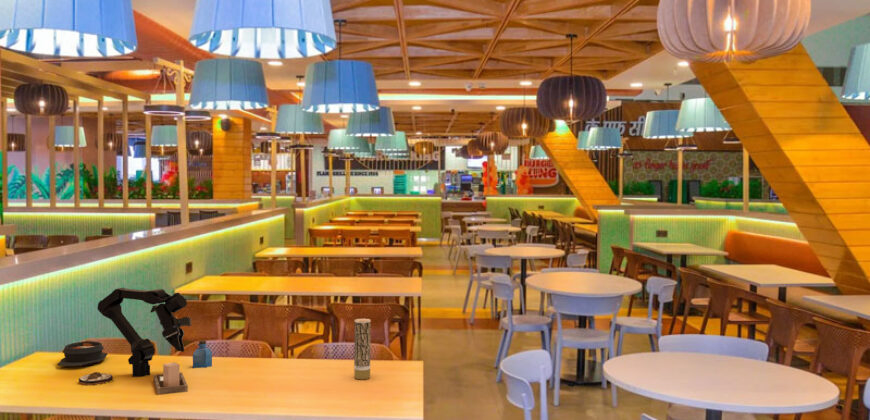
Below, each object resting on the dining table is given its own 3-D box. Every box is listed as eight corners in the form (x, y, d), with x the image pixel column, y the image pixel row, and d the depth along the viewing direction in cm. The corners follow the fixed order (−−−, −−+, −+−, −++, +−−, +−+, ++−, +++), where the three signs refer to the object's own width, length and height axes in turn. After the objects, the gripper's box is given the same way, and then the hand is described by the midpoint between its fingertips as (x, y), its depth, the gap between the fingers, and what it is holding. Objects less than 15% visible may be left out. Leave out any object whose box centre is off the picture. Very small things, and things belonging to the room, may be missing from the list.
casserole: (80, 355, 336) (80, 338, 335) (117, 357, 334) (117, 339, 333) (46, 369, 311) (46, 350, 310) (86, 371, 309) (86, 352, 309)
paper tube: (367, 380, 299) (368, 321, 298) (352, 379, 301) (352, 321, 300) (372, 376, 306) (372, 319, 305) (357, 375, 307) (357, 318, 306)
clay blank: (163, 389, 280) (163, 364, 280) (174, 387, 284) (174, 362, 283) (168, 391, 277) (168, 366, 277) (179, 389, 281) (179, 364, 280)
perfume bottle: (211, 366, 320) (212, 339, 320) (206, 369, 314) (206, 342, 313) (198, 365, 321) (198, 339, 320) (192, 369, 314) (192, 342, 314)
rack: (187, 393, 278) (187, 385, 278) (157, 396, 273) (157, 388, 273) (181, 379, 297) (181, 372, 297) (153, 382, 292) (153, 375, 292)
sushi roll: (96, 389, 284) (96, 378, 284) (67, 385, 289) (67, 375, 288) (123, 379, 298) (123, 369, 298) (95, 376, 303) (95, 366, 302)
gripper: (181, 306, 289) (197, 341, 287) (187, 310, 307) (202, 343, 305) (155, 319, 286) (170, 354, 284) (162, 322, 304) (177, 355, 302)
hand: (181, 351), depth 294 cm, fingers open, 9 cm apart
